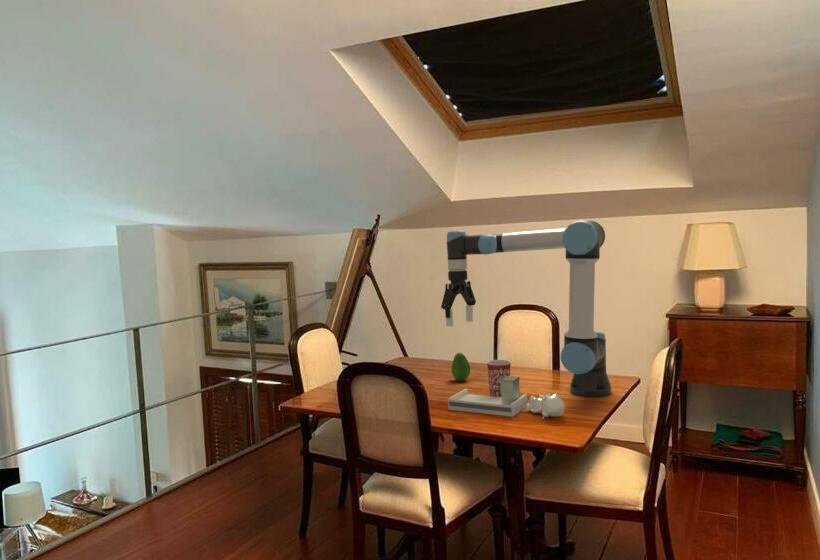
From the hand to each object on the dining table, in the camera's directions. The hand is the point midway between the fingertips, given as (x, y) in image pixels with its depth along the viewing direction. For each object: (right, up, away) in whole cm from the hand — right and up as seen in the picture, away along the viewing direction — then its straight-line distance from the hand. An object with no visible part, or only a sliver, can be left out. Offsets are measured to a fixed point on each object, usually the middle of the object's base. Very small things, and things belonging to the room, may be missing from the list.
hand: (459, 323), depth 243 cm
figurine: (+26, -28, -36) cm, 53 cm away
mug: (+14, -27, -10) cm, 32 cm away
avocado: (+2, -26, +17) cm, 31 cm away
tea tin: (+15, -26, -29) cm, 42 cm away
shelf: (+8, -28, -24) cm, 38 cm away
